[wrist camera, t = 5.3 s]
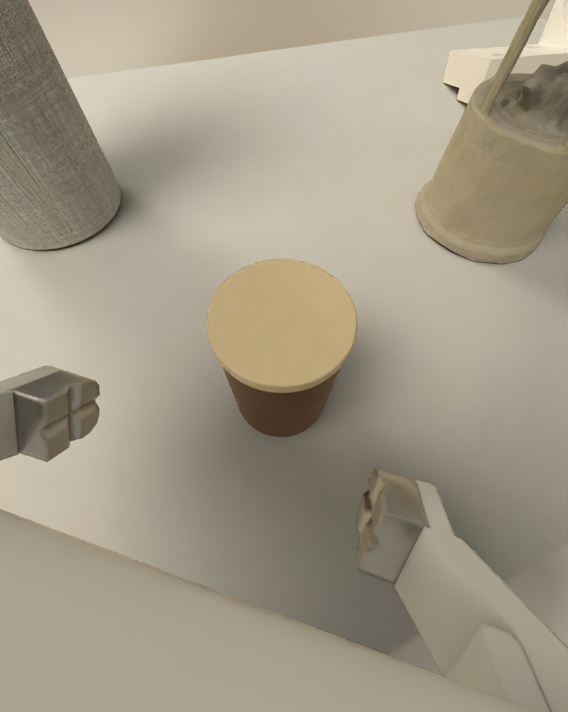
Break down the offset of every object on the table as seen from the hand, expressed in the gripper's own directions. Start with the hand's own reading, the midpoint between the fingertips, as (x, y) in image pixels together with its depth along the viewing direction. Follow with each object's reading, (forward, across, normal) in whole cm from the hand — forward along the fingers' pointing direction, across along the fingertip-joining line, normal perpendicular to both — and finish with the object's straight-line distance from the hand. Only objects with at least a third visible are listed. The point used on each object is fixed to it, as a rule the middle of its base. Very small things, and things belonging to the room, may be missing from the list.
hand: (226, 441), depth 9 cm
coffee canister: (+10, 0, -3) cm, 11 cm away
